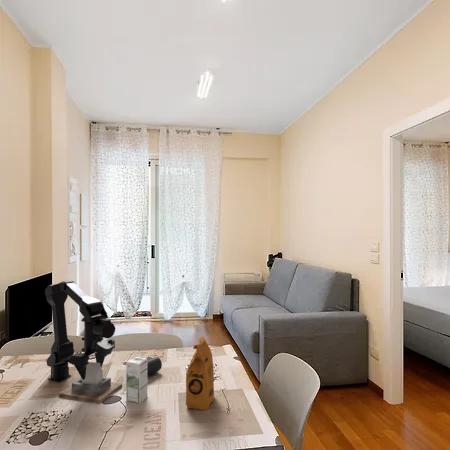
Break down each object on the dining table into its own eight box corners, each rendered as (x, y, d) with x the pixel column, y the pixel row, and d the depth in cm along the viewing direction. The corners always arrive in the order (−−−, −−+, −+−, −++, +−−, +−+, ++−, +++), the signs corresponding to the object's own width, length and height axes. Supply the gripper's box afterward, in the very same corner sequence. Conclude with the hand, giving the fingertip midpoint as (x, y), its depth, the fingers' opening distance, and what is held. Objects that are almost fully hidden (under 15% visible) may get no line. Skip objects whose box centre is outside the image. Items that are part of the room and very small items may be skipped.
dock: (59, 396, 129) (59, 385, 129) (84, 381, 142) (84, 370, 142) (99, 403, 123) (99, 391, 123) (122, 386, 136) (122, 376, 137)
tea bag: (96, 391, 130) (96, 365, 130) (81, 389, 132) (81, 363, 132) (102, 387, 133) (102, 361, 134) (88, 385, 135) (88, 359, 136)
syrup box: (147, 396, 128) (148, 357, 129) (139, 404, 123) (139, 363, 123) (134, 394, 130) (135, 355, 131) (125, 401, 125) (125, 361, 125)
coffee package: (181, 409, 119) (181, 345, 120) (192, 392, 131) (192, 335, 132) (208, 412, 117) (208, 347, 118) (217, 395, 129) (217, 336, 130)
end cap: (145, 381, 142) (145, 365, 142) (133, 377, 145) (133, 361, 145) (162, 373, 150) (162, 357, 150) (150, 369, 154) (150, 354, 154)
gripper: (93, 343, 122) (93, 387, 121) (124, 329, 140) (123, 367, 139) (67, 340, 125) (67, 383, 125) (100, 327, 143) (100, 364, 143)
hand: (91, 374), depth 133 cm, fingers open, 9 cm apart
